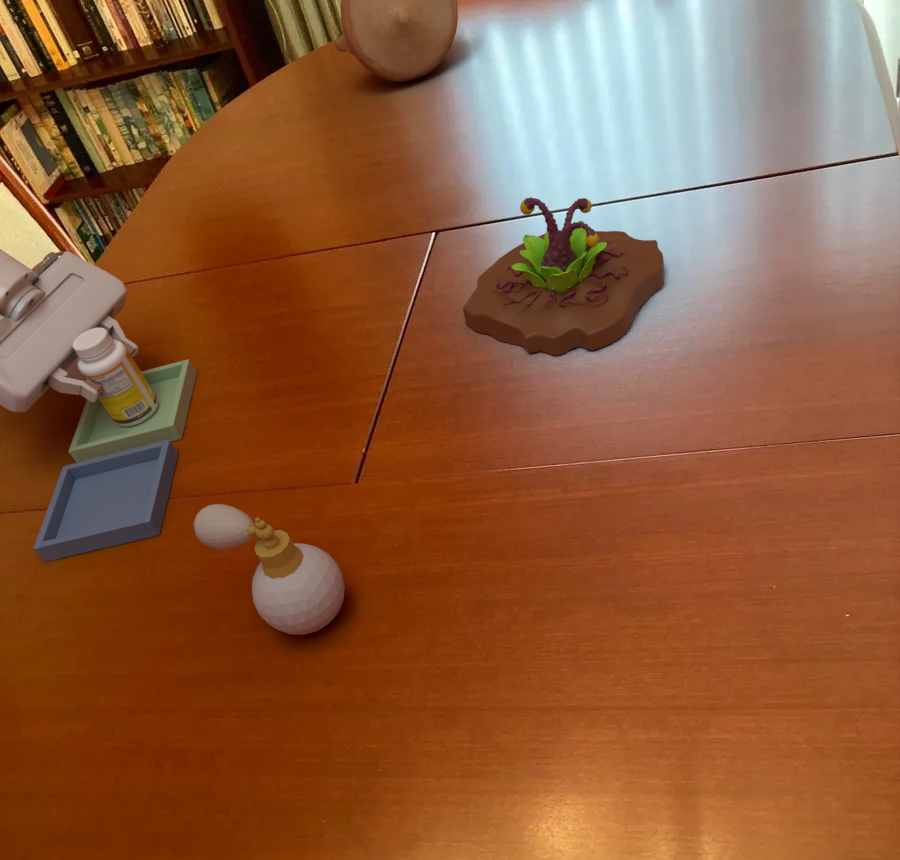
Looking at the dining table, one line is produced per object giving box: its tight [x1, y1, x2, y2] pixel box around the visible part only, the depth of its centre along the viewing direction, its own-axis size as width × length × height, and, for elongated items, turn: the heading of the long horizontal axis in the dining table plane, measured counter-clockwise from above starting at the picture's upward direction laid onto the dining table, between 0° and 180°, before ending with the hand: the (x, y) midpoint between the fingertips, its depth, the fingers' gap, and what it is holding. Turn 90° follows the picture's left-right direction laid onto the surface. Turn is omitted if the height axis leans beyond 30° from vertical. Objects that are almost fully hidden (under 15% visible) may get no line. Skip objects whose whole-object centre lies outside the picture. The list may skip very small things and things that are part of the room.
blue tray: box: [33, 440, 179, 563], centre depth 91 cm, size 13×13×2 cm
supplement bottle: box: [72, 328, 158, 426], centre depth 98 cm, size 6×6×10 cm
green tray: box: [68, 358, 198, 463], centre depth 101 cm, size 13×13×2 cm
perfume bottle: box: [193, 503, 346, 636], centre depth 70 cm, size 8×10×12 cm
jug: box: [334, 0, 459, 83], centre depth 148 cm, size 20×19×30 cm
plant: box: [462, 196, 665, 357], centre depth 91 cm, size 20×20×11 cm
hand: (117, 375), depth 97 cm, fingers closed on supplement bottle, 5 cm apart
